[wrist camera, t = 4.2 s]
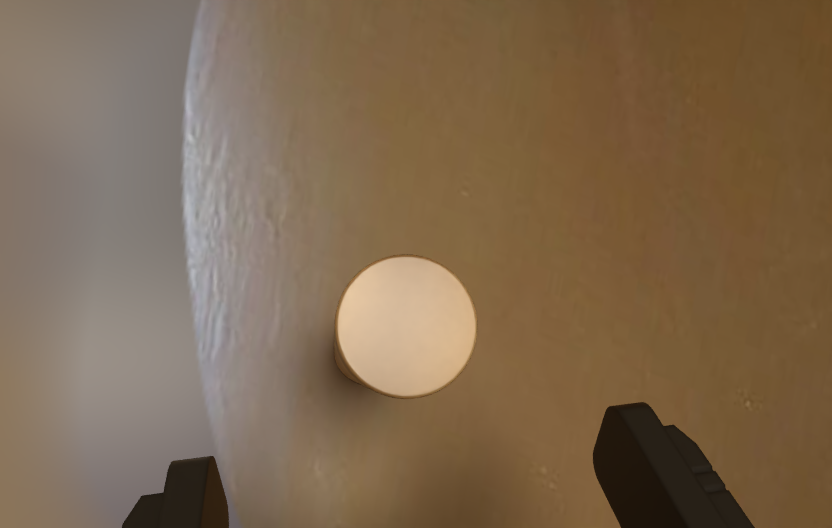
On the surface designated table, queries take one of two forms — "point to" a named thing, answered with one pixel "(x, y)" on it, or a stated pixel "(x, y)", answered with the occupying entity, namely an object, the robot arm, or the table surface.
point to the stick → (404, 327)
